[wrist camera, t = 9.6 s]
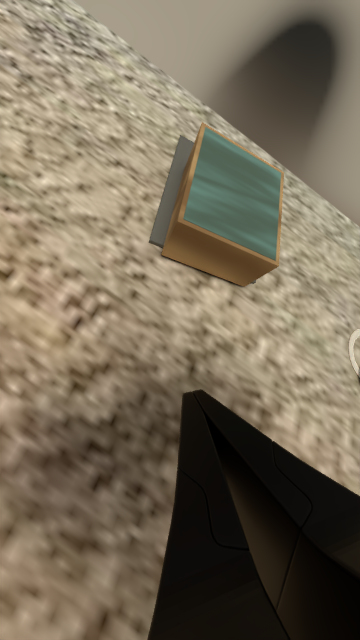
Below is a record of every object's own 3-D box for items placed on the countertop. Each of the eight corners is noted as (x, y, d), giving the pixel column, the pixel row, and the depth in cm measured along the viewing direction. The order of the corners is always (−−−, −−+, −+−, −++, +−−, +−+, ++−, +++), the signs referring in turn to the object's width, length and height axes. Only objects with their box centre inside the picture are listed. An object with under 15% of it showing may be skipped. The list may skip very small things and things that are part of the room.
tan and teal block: (279, 266, 18) (284, 172, 22) (177, 220, 15) (202, 121, 19) (244, 286, 23) (253, 206, 26) (161, 254, 20) (183, 170, 24)
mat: (253, 283, 24) (255, 282, 23) (148, 242, 20) (149, 239, 20) (262, 185, 29) (264, 183, 28) (179, 138, 25) (180, 135, 25)
